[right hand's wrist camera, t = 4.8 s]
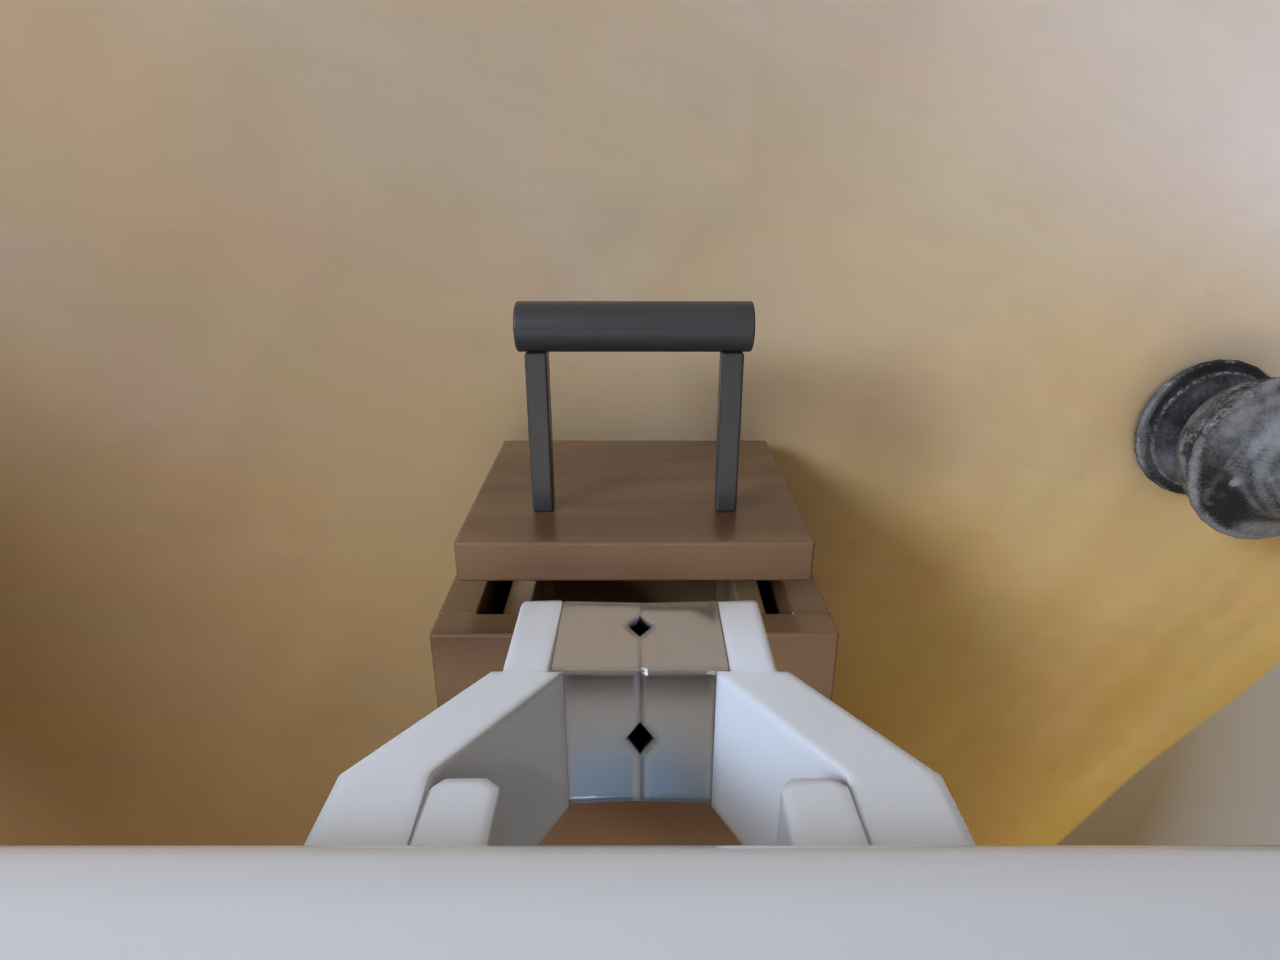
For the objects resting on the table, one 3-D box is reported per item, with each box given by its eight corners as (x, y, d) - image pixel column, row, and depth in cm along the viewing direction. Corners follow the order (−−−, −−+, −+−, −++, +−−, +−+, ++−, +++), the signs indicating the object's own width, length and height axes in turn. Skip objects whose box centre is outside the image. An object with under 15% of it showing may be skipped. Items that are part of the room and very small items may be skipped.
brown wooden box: (496, 484, 30) (428, 633, 21) (774, 484, 30) (840, 633, 21) (524, 877, 38) (484, 1126, 28) (747, 877, 38) (786, 1125, 28)
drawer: (493, 273, 27) (431, 315, 19) (776, 273, 27) (836, 316, 19) (530, 838, 36) (499, 1029, 28) (741, 837, 36) (771, 1028, 28)
